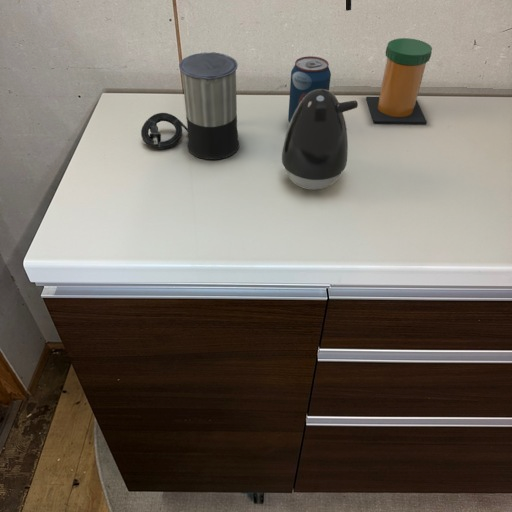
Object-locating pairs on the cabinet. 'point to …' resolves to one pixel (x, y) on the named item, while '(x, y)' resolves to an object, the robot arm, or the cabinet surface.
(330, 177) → the pump dispenser
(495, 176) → the cabinet surface
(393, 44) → the jar lid
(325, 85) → the soda can
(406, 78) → the jar
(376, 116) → the mat
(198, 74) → the milk frother
